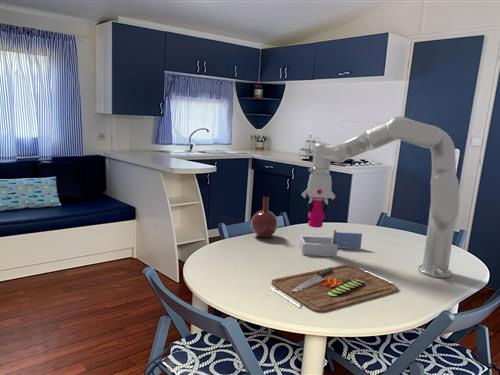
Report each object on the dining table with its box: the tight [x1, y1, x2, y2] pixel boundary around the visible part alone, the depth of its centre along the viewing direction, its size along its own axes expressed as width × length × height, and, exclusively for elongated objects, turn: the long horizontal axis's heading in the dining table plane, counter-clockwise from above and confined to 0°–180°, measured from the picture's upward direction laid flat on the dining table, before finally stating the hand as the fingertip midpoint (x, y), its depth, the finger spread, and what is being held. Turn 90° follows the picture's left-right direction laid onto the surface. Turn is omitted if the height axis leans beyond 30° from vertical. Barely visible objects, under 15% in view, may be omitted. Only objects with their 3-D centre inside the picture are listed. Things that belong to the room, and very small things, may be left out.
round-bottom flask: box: [250, 195, 279, 238], centre depth 204 cm, size 13×13×20 cm
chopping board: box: [270, 264, 399, 313], centre depth 150 cm, size 45×27×3 cm, turn 122°
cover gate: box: [332, 229, 363, 249], centre depth 194 cm, size 13×1×8 cm, turn 91°
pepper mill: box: [307, 190, 325, 229], centre depth 185 cm, size 7×7×20 cm
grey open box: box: [298, 235, 339, 257], centre depth 188 cm, size 12×15×5 cm
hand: (317, 211), depth 185 cm, fingers closed on pepper mill, 5 cm apart
